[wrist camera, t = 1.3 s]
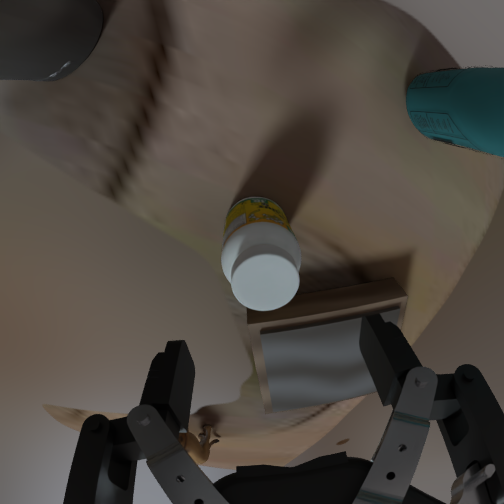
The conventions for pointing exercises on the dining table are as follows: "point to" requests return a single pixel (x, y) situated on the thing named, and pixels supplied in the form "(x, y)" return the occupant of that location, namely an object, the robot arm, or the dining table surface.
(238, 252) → the supplement bottle
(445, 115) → the beverage bottle
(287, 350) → the wooden framed mirror
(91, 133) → the dining table surface
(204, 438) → the lion figurine
